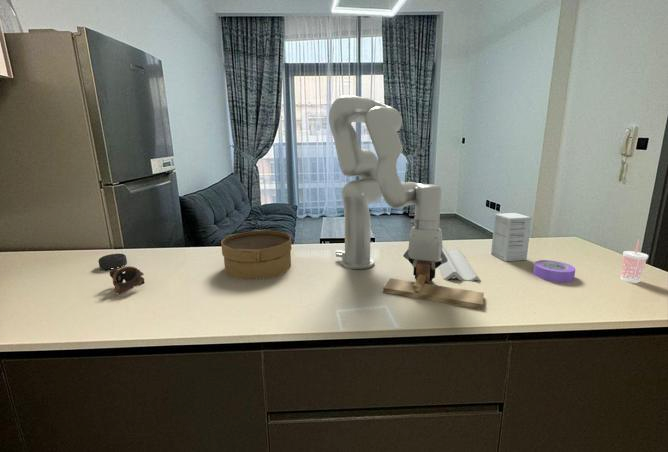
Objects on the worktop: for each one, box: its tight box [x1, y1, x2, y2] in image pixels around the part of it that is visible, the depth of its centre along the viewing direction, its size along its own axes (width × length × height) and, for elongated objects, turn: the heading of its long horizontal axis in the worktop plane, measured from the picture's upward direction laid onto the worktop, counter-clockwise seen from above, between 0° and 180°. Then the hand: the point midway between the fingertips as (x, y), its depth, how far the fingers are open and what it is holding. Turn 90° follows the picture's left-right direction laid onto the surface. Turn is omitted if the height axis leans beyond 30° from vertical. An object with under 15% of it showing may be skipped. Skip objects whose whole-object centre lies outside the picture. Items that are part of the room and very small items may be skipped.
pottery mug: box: [109, 265, 145, 295], centre depth 108 cm, size 12×10×8 cm
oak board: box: [382, 277, 485, 310], centre depth 101 cm, size 28×8×2 cm, turn 65°
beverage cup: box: [620, 238, 649, 284], centre depth 108 cm, size 6×6×14 cm
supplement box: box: [490, 212, 532, 262], centre depth 130 cm, size 10×9×17 cm
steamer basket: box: [220, 230, 293, 281], centre depth 124 cm, size 25×25×11 cm
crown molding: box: [437, 245, 481, 282], centre depth 126 cm, size 31×12×4 cm, turn 172°
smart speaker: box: [97, 253, 128, 270], centre depth 128 cm, size 9×9×4 cm
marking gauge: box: [413, 260, 432, 291], centre depth 105 cm, size 4×16×7 cm, turn 155°
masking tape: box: [532, 259, 576, 283], centre depth 113 cm, size 12×12×4 cm
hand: (424, 278), depth 110 cm, fingers closed on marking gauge, 4 cm apart
